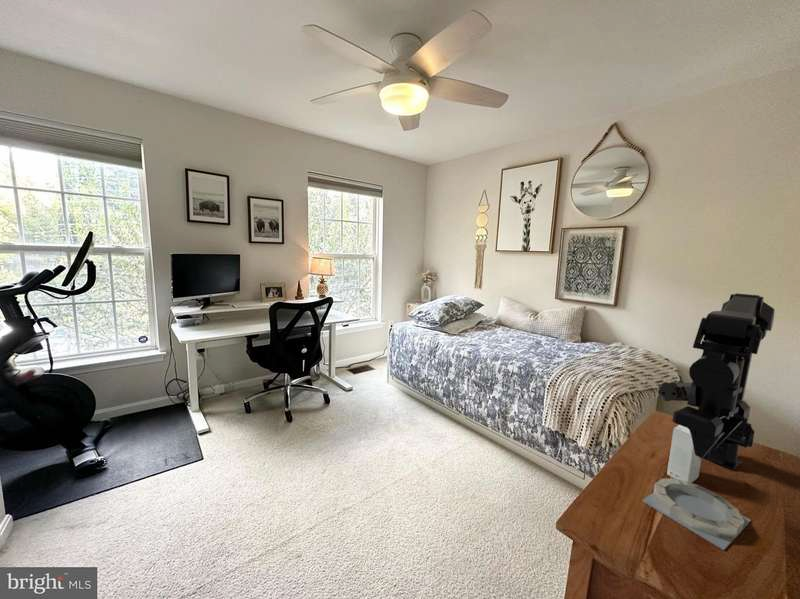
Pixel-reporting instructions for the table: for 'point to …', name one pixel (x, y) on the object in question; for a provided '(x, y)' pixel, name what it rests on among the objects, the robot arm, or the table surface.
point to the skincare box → (683, 456)
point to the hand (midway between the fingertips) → (705, 452)
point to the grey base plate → (698, 509)
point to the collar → (702, 524)
